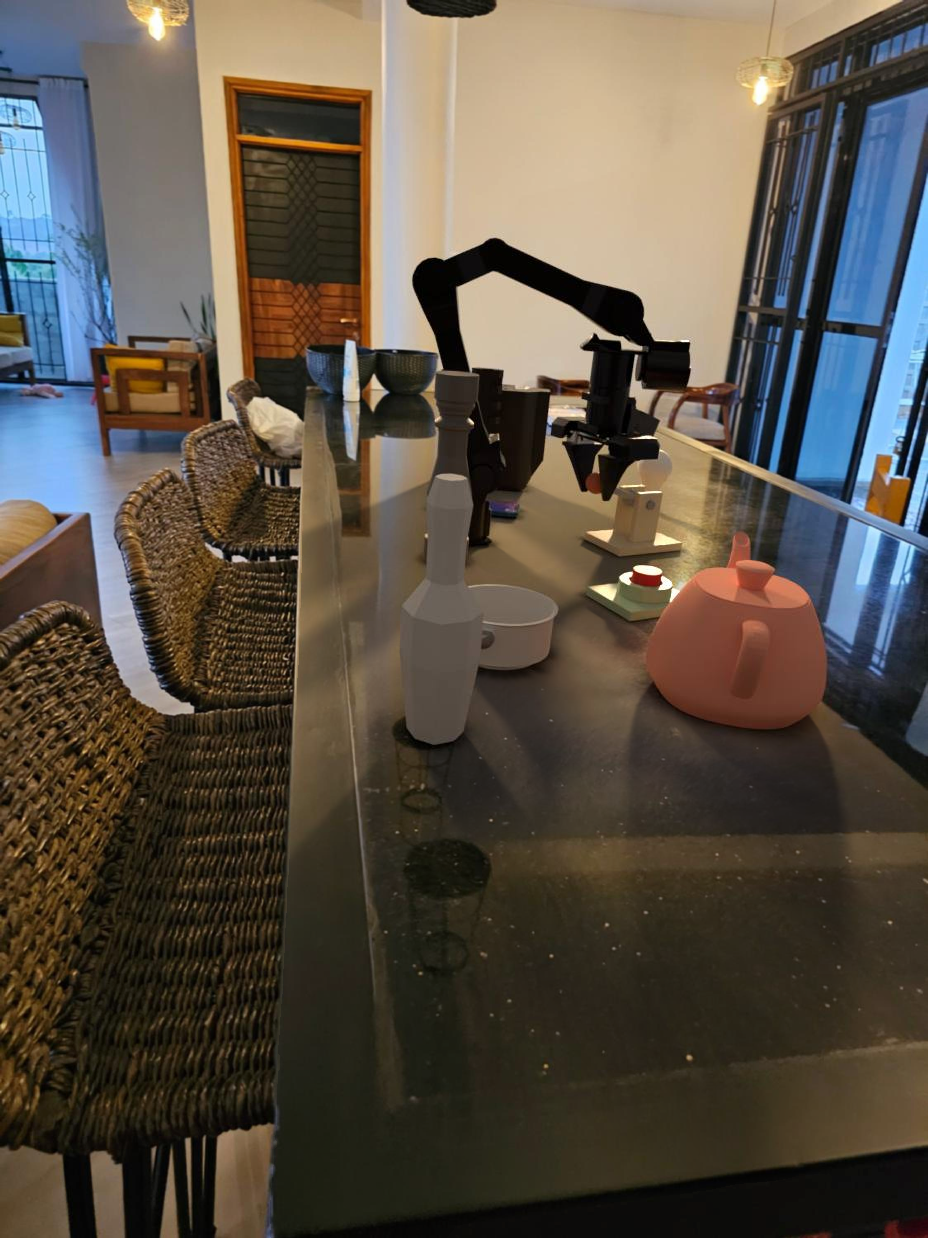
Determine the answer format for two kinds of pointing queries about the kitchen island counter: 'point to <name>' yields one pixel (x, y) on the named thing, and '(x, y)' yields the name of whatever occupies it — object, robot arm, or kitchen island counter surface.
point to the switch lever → (594, 488)
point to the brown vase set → (514, 424)
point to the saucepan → (514, 626)
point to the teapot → (740, 646)
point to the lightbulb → (655, 471)
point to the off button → (646, 576)
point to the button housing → (634, 597)
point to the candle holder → (453, 426)
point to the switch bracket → (635, 526)
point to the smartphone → (504, 508)
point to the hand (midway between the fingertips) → (594, 496)
